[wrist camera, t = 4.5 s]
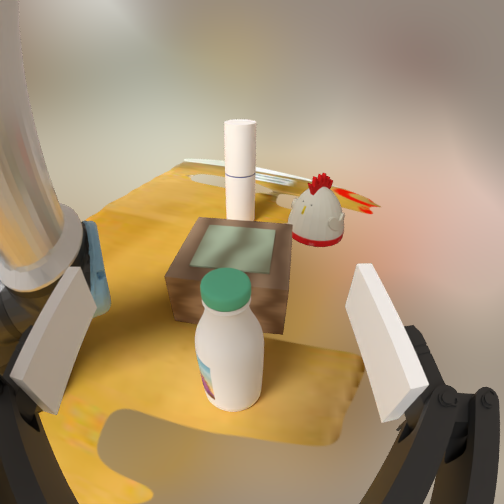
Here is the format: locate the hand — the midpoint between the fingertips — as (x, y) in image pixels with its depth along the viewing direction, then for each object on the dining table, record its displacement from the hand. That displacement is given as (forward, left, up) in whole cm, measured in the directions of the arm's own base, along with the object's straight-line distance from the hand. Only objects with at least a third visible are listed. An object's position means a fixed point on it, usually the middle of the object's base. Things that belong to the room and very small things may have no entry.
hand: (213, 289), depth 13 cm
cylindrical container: (-9, +57, -28) cm, 64 cm away
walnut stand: (-5, +30, -28) cm, 41 cm away
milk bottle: (-2, +10, -28) cm, 30 cm away
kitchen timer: (+10, +54, -28) cm, 62 cm away
